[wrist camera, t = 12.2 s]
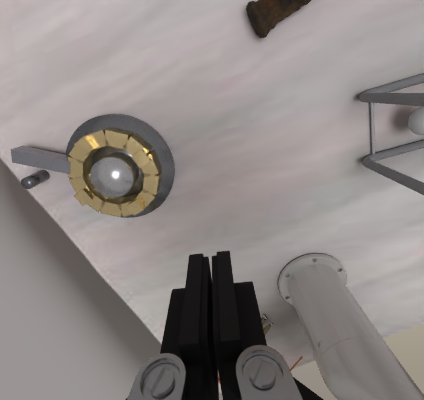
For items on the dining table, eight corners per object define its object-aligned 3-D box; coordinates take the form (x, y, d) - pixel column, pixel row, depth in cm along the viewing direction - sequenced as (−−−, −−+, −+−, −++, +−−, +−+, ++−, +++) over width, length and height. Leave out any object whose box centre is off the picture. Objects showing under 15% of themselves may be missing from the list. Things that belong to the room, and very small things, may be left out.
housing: (182, 208, 41) (178, 223, 37) (58, 222, 42) (39, 238, 38) (163, 107, 35) (156, 109, 30) (17, 126, 36) (-11, 131, 31)
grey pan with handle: (167, 139, 35) (162, 144, 32) (155, 214, 40) (150, 226, 37) (22, 106, 33) (1, 108, 30) (29, 189, 38) (11, 199, 35)
